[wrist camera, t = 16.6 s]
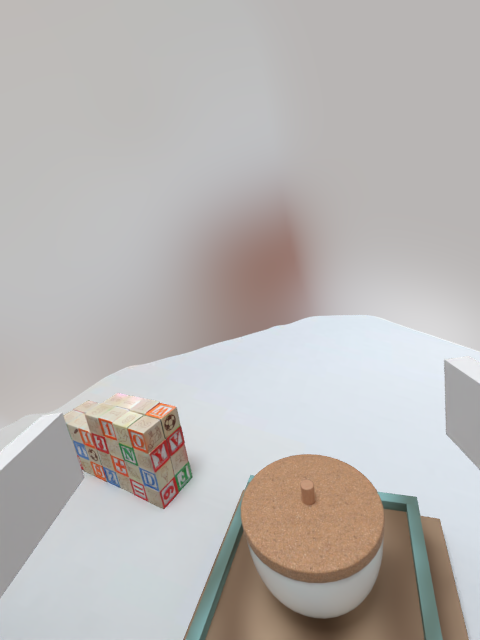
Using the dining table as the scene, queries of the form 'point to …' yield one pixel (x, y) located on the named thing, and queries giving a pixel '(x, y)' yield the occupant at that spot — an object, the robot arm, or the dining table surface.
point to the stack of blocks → (132, 445)
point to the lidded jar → (314, 533)
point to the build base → (357, 625)
